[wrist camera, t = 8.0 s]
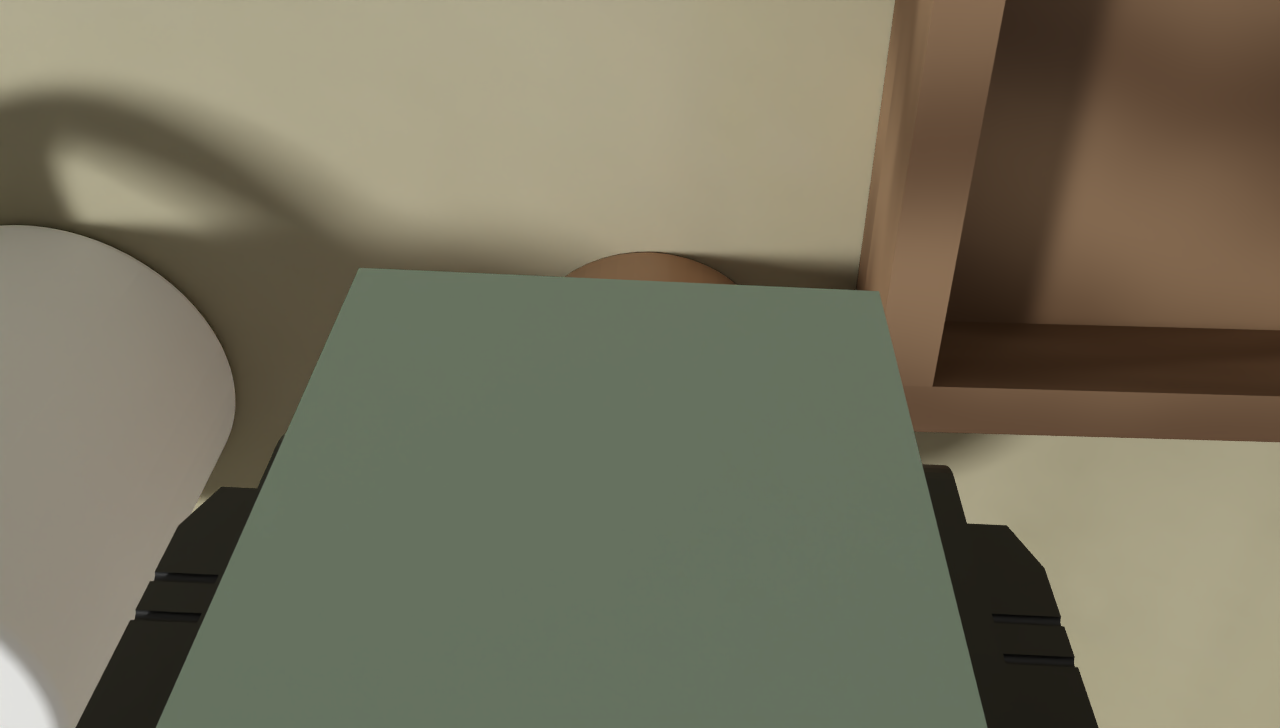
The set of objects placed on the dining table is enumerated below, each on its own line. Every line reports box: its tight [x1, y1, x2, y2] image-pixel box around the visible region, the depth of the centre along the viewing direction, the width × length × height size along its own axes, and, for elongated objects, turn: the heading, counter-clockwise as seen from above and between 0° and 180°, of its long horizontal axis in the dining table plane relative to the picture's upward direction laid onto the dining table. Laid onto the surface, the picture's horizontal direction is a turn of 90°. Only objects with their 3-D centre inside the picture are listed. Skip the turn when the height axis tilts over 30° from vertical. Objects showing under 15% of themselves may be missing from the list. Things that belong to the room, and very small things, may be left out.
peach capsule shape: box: [565, 252, 736, 285], centre depth 27 cm, size 6×6×6 cm
